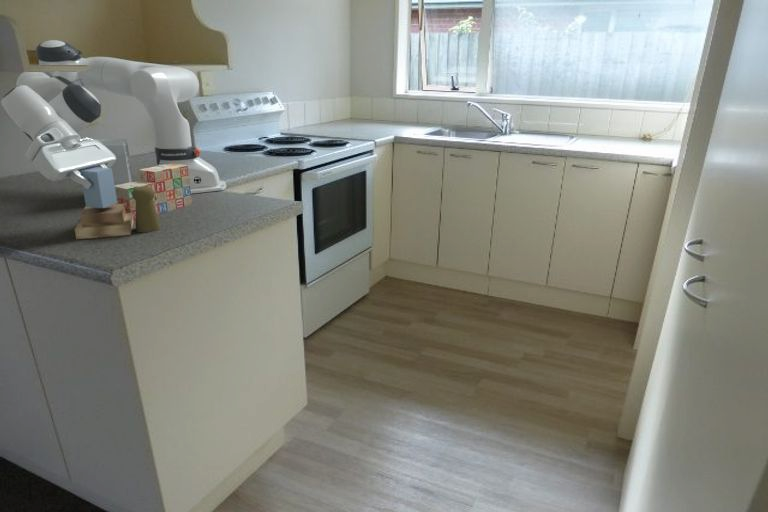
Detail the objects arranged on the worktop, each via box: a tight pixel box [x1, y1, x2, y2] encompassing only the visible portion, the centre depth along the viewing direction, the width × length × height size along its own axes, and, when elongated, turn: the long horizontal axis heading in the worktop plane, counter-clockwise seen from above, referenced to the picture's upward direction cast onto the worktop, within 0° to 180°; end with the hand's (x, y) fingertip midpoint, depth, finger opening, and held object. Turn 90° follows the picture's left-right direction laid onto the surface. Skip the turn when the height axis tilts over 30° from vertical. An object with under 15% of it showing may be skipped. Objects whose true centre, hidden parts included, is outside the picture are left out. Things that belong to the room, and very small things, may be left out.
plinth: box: [74, 204, 135, 240], centre depth 133 cm, size 12×12×6 cm
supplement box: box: [84, 138, 134, 205], centre depth 161 cm, size 13×13×18 cm
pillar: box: [80, 167, 117, 208], centre depth 131 cm, size 5×5×9 cm
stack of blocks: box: [115, 164, 193, 222], centre depth 149 cm, size 21×6×12 cm, turn 152°
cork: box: [132, 187, 162, 233], centre depth 134 cm, size 6×6×11 cm
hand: (100, 184), depth 130 cm, fingers closed on pillar, 5 cm apart
